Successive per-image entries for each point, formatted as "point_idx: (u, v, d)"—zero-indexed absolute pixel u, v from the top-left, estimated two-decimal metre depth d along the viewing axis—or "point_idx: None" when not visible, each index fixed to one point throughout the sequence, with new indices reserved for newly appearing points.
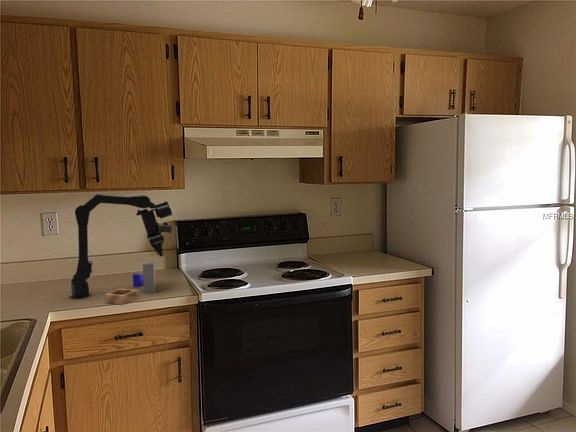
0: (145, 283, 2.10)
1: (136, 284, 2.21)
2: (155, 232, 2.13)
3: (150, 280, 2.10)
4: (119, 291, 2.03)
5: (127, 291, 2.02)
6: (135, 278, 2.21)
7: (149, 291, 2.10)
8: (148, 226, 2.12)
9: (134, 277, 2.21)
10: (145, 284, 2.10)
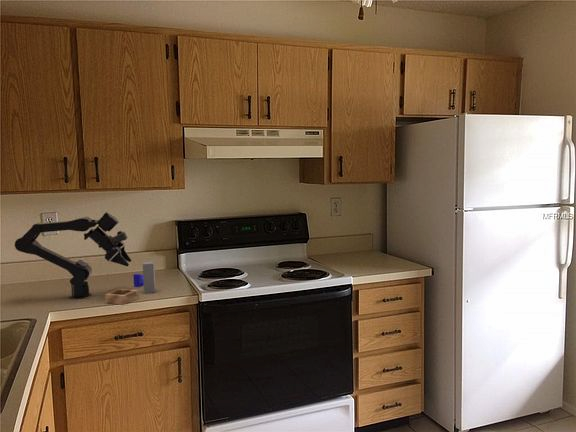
0: (145, 283, 2.10)
1: (137, 284, 2.21)
2: (110, 246, 2.05)
3: (150, 280, 2.10)
4: (119, 291, 2.03)
5: (127, 291, 2.02)
6: (136, 278, 2.21)
7: (149, 291, 2.10)
8: (101, 244, 2.04)
9: (135, 277, 2.21)
10: (145, 284, 2.10)
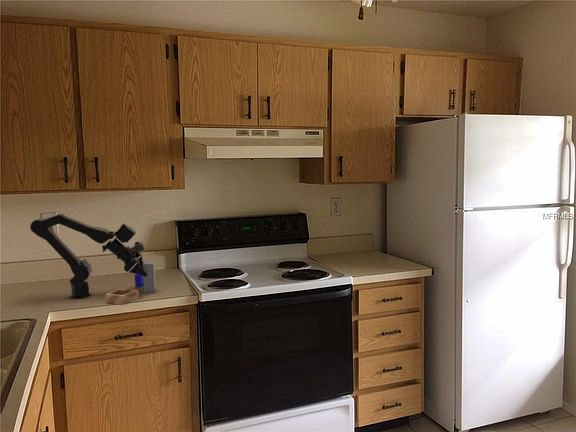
0: (145, 283, 2.10)
1: (138, 284, 2.21)
2: (128, 257, 2.07)
3: (150, 280, 2.10)
4: (119, 291, 2.03)
5: (127, 291, 2.02)
6: (137, 278, 2.21)
7: (149, 291, 2.10)
8: (119, 255, 2.06)
9: (136, 277, 2.21)
10: (145, 284, 2.10)
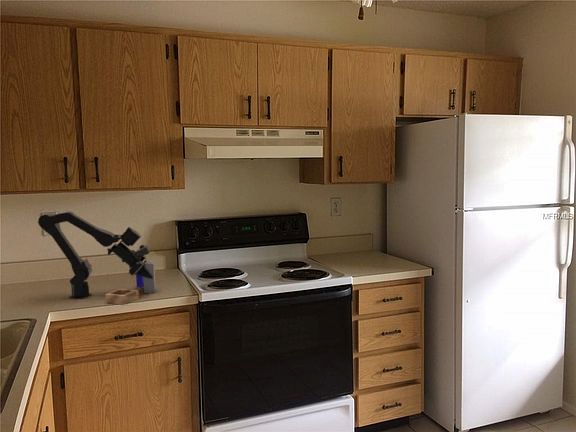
0: (145, 283, 2.10)
1: (139, 284, 2.21)
2: (133, 260, 2.07)
3: (150, 280, 2.10)
4: (119, 291, 2.03)
5: (127, 291, 2.02)
6: (138, 278, 2.21)
7: (149, 291, 2.10)
8: (124, 259, 2.07)
9: (137, 277, 2.21)
10: (145, 284, 2.10)
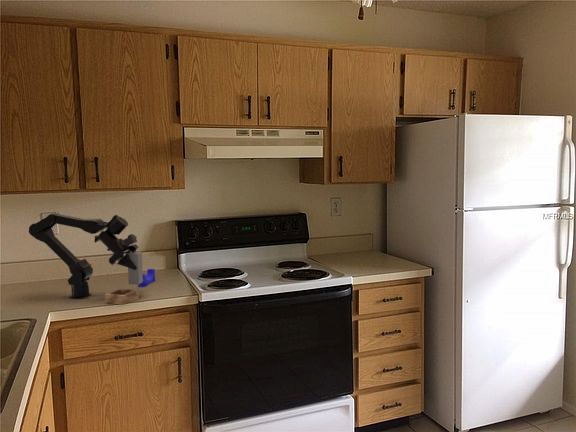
0: (129, 274, 2.02)
1: (141, 284, 2.21)
2: (118, 250, 2.00)
3: (135, 271, 2.01)
4: (119, 291, 2.03)
5: (127, 291, 2.02)
6: None
7: (133, 282, 2.02)
8: (109, 247, 2.01)
9: None
10: (129, 275, 2.02)
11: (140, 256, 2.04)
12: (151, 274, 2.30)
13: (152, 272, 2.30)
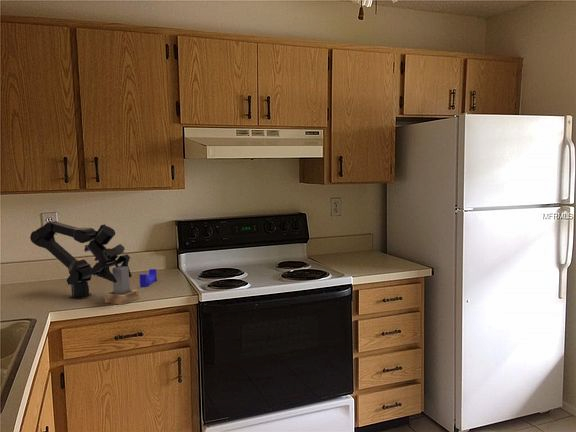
0: (115, 289, 1.97)
1: (143, 284, 2.21)
2: (103, 260, 1.97)
3: (119, 286, 1.97)
4: None
5: None
6: (142, 278, 2.20)
7: None
8: (96, 257, 1.98)
9: (141, 277, 2.20)
10: (115, 290, 1.98)
11: (126, 271, 1.98)
12: (153, 274, 2.30)
13: (154, 272, 2.30)
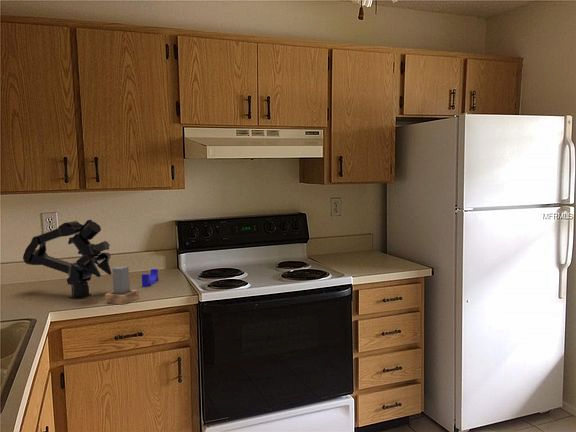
0: (115, 289, 1.97)
1: (145, 284, 2.20)
2: (88, 254, 2.00)
3: (119, 286, 1.97)
4: None
5: None
6: (144, 278, 2.20)
7: None
8: (80, 250, 2.01)
9: (143, 277, 2.20)
10: (115, 290, 1.98)
11: (126, 271, 1.98)
12: (154, 274, 2.30)
13: (155, 272, 2.30)
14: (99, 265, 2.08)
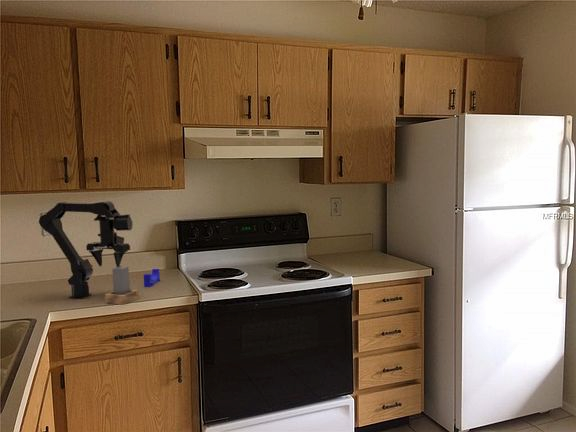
0: (115, 289, 1.97)
1: (147, 284, 2.20)
2: (114, 241, 2.03)
3: (119, 286, 1.97)
4: None
5: None
6: (146, 278, 2.20)
7: None
8: (109, 234, 2.01)
9: (145, 277, 2.20)
10: (115, 290, 1.98)
11: (126, 271, 1.98)
12: (156, 274, 2.30)
13: (157, 272, 2.30)
14: (95, 252, 2.04)
